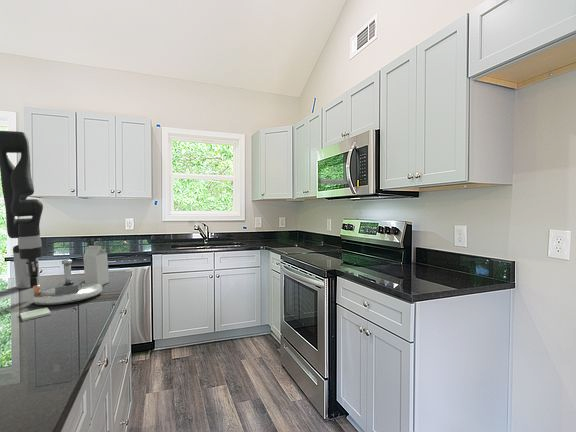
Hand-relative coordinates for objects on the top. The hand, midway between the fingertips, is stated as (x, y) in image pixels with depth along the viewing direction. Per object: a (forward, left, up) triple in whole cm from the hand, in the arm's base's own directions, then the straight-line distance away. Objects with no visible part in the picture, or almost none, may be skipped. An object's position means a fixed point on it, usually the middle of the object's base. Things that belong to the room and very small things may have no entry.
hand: (33, 286), depth 136 cm
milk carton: (-4, +25, -5) cm, 25 cm away
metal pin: (+11, +11, -2) cm, 16 cm away
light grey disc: (+11, +10, -4) cm, 16 cm away
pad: (+25, -2, -5) cm, 26 cm away
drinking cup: (-17, +26, -5) cm, 31 cm away
